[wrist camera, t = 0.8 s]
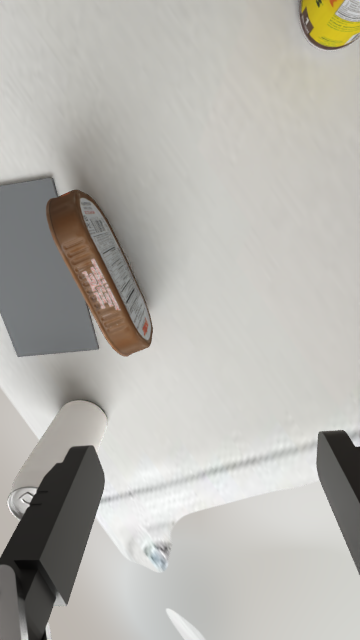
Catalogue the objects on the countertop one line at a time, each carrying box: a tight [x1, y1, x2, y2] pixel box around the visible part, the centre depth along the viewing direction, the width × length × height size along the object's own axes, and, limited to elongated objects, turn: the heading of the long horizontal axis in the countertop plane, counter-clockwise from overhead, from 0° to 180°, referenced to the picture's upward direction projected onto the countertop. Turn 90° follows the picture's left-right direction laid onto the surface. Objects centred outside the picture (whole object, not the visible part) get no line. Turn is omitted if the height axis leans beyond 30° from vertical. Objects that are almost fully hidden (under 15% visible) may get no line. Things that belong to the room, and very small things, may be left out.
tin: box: [46, 190, 153, 356], centre depth 26 cm, size 15×3×8 cm, turn 22°
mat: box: [0, 178, 99, 357], centre depth 30 cm, size 18×10×1 cm, turn 8°
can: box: [7, 400, 107, 520], centre depth 32 cm, size 6×6×12 cm
